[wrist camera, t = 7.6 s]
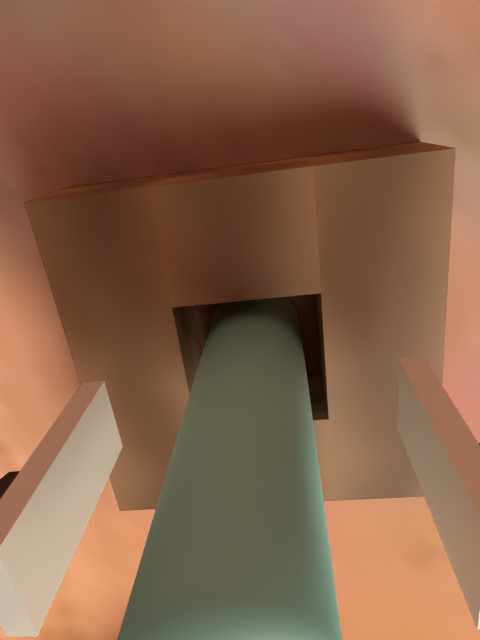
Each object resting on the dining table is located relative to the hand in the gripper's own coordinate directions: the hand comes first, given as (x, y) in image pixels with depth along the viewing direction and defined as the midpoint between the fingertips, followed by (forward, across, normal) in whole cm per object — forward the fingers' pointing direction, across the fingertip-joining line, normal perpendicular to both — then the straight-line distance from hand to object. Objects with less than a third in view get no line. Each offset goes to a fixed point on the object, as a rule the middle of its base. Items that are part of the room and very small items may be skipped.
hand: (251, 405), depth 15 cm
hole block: (+6, 0, 0) cm, 6 cm away
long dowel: (+6, 0, 0) cm, 6 cm away
